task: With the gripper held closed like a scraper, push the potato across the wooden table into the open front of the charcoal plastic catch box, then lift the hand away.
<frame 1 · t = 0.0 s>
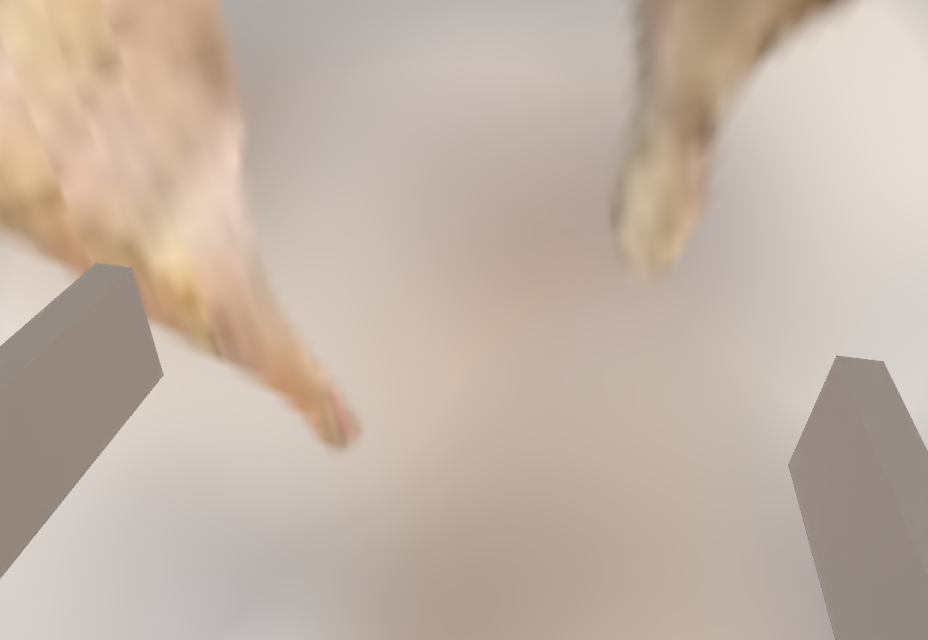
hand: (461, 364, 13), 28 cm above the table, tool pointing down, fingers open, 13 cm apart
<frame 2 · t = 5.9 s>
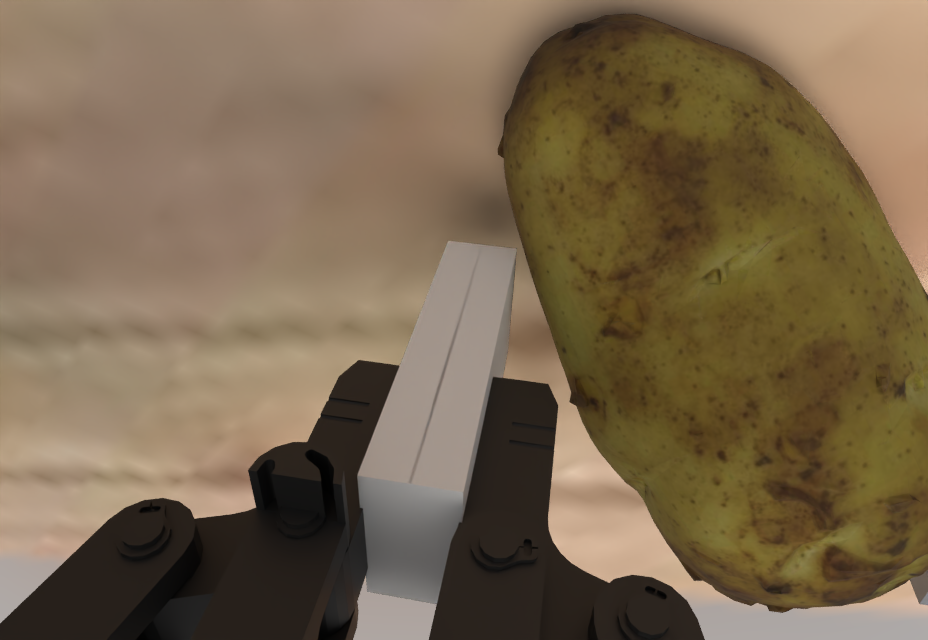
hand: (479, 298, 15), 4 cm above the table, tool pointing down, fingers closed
potato: (712, 229, 18), on the table, touching gripper
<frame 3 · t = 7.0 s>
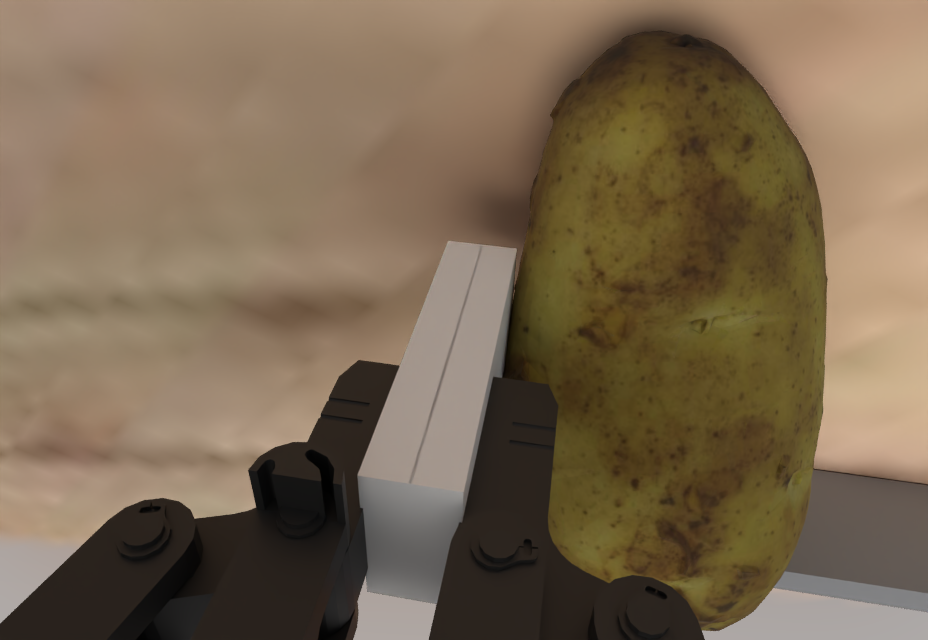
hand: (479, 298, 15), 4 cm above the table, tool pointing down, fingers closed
potato: (659, 270, 19), on the table, touching gripper
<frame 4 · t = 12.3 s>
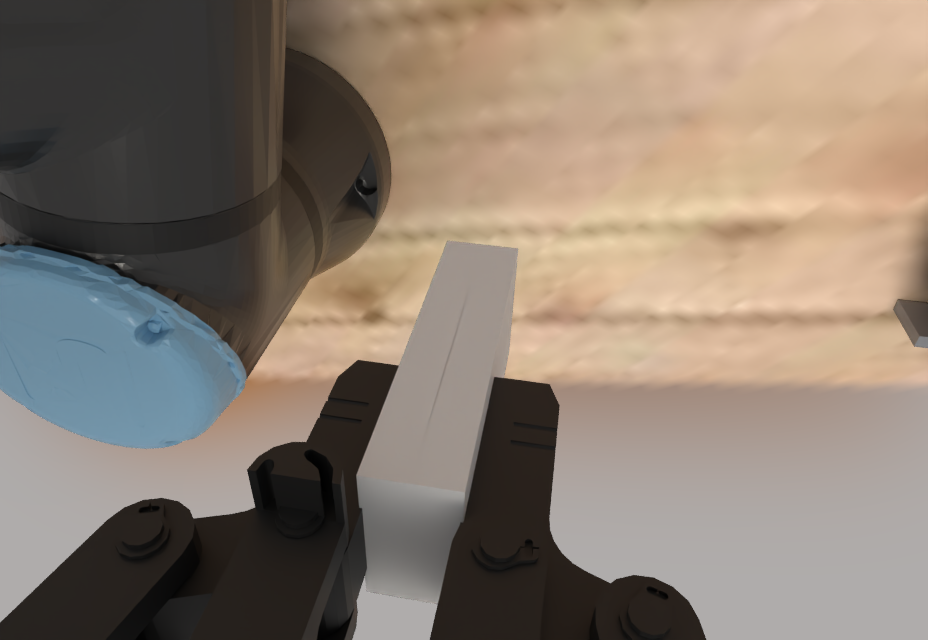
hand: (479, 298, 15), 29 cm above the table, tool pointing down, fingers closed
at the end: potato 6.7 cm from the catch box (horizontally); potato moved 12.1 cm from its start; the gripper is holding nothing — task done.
